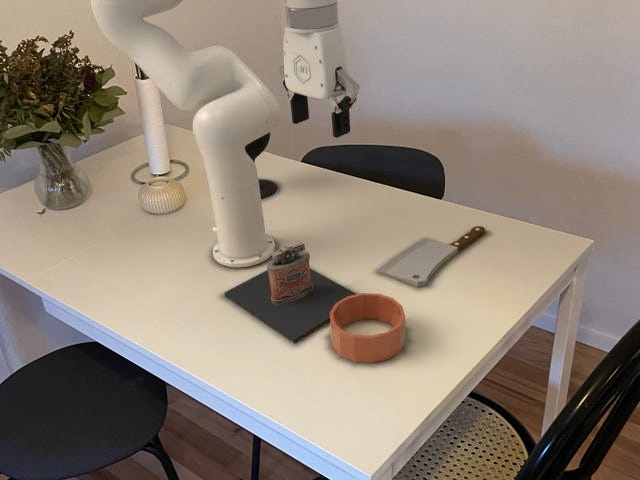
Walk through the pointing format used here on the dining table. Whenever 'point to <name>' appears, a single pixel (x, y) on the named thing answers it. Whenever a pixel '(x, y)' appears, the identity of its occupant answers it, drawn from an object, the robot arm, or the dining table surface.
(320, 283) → the mat
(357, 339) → the orange hollow ring
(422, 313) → the dining table surface
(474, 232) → the kitchen cleaver
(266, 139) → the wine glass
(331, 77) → the robot arm
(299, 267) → the lighter
